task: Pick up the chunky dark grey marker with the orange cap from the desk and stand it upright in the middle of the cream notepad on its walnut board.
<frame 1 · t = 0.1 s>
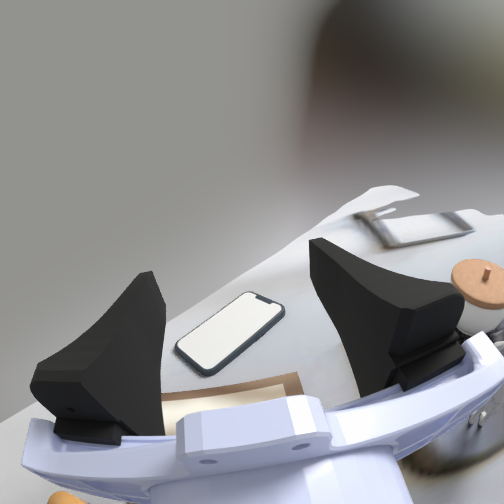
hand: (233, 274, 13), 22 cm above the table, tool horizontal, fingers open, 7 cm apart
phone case: (232, 334, 41), on the table
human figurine: (475, 424, 18), on the table
lidded jar: (470, 323, 31), on the table
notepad: (219, 446, 24), on the table
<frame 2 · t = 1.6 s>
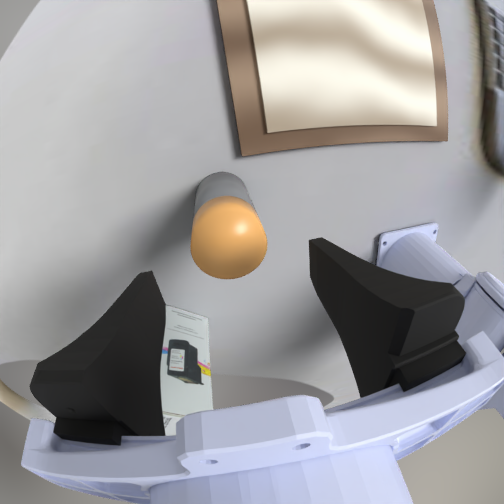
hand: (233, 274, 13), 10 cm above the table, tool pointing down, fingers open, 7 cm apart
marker: (221, 196, 21), on the table
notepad: (353, 48, 16), on the table
ink box: (174, 336, 28), on the table
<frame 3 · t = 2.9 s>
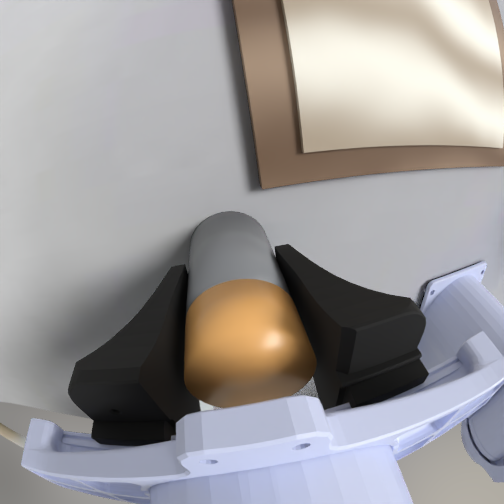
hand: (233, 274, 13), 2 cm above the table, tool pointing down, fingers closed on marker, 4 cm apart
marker: (229, 247, 15), on the table, touching gripper
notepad: (418, 35, 10), on the table
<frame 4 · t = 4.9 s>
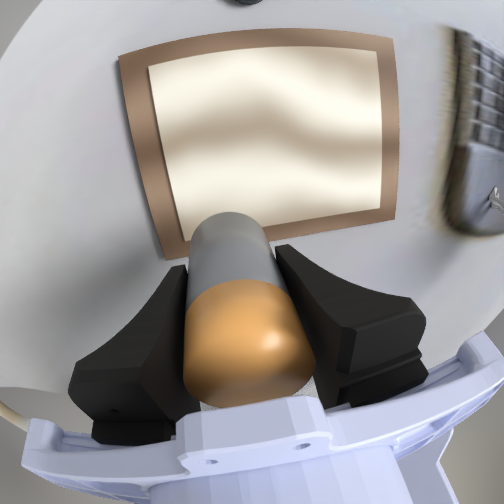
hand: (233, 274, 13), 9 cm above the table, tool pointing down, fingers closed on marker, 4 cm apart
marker: (228, 247, 15), point 7 cm above the table, touching gripper
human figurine: (489, 200, 25), on the table
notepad: (279, 135, 19), on the table
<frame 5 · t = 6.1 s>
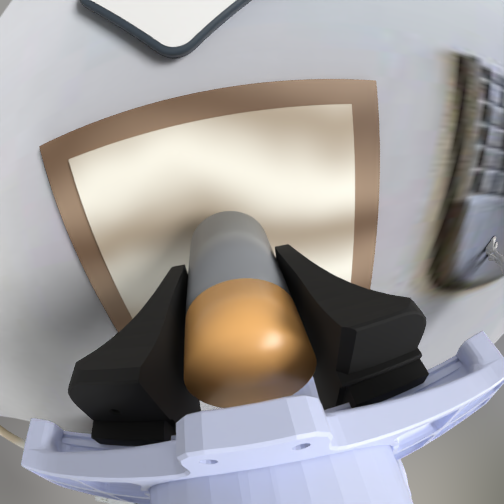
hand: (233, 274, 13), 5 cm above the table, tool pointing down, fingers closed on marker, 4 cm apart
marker: (229, 247, 15), point 3 cm above the table, touching gripper
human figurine: (486, 250, 23), on the table
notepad: (226, 225, 17), on the table
when the fingers open (4 cm above the table, at t = 7.1 s): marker drops 1 cm, resting on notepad.
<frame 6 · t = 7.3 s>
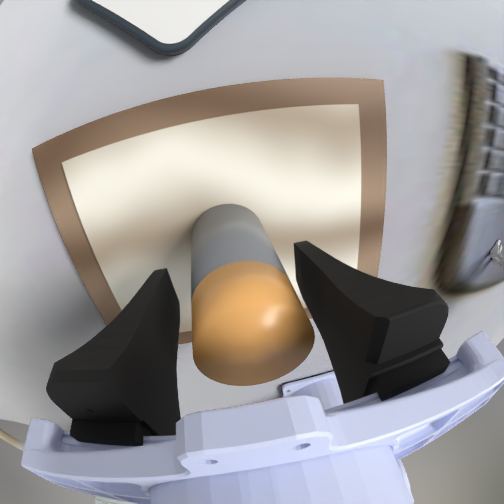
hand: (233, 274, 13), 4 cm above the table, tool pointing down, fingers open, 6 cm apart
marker: (227, 238, 15), point 1 cm above the table, touching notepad
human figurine: (490, 253, 22), on the table
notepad: (226, 230, 16), on the table
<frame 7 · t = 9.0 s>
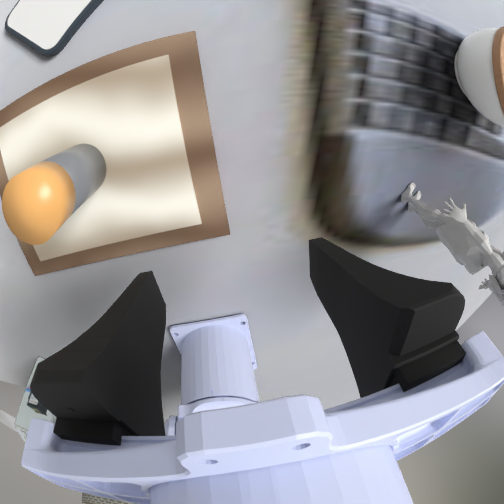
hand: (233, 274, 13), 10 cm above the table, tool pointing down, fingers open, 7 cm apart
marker: (83, 169, 17), point 1 cm above the table, touching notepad
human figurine: (404, 200, 24), on the table
lidded jar: (469, 73, 17), on the table
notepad: (87, 166, 18), on the table
planter: (119, 457, 49), on the table
ink box: (54, 375, 30), on the table
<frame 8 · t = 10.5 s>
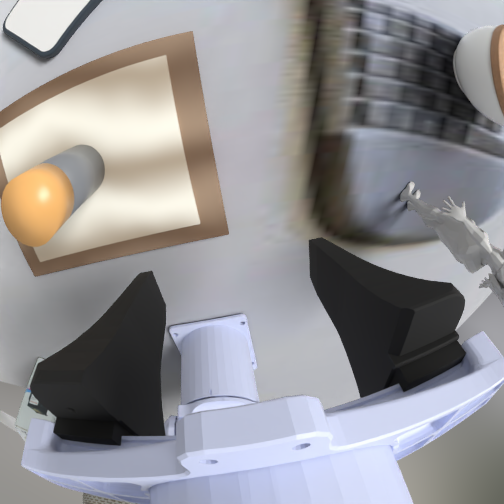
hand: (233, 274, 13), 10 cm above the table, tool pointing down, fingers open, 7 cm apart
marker: (81, 170, 17), point 1 cm above the table, touching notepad
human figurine: (404, 199, 24), on the table
lidded jar: (468, 71, 17), on the table
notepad: (86, 167, 18), on the table
planter: (120, 458, 49), on the table
ink box: (54, 376, 30), on the table
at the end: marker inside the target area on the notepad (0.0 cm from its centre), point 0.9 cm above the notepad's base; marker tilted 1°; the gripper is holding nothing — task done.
